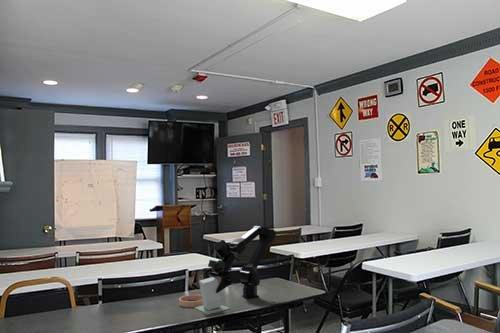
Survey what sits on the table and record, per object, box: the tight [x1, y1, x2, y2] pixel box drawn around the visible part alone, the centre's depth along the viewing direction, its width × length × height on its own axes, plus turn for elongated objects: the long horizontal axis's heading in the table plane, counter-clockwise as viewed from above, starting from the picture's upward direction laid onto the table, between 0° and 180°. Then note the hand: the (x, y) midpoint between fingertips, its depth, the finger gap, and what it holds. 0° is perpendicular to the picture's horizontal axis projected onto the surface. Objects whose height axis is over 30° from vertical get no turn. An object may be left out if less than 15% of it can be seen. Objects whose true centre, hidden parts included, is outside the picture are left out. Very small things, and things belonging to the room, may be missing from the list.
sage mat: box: [194, 304, 231, 315], centre depth 191 cm, size 12×12×1 cm
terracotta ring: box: [178, 294, 203, 308], centre depth 201 cm, size 13×13×2 cm
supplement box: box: [198, 277, 223, 310], centre depth 191 cm, size 7×7×13 cm
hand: (209, 290), depth 190 cm, fingers open, 9 cm apart
